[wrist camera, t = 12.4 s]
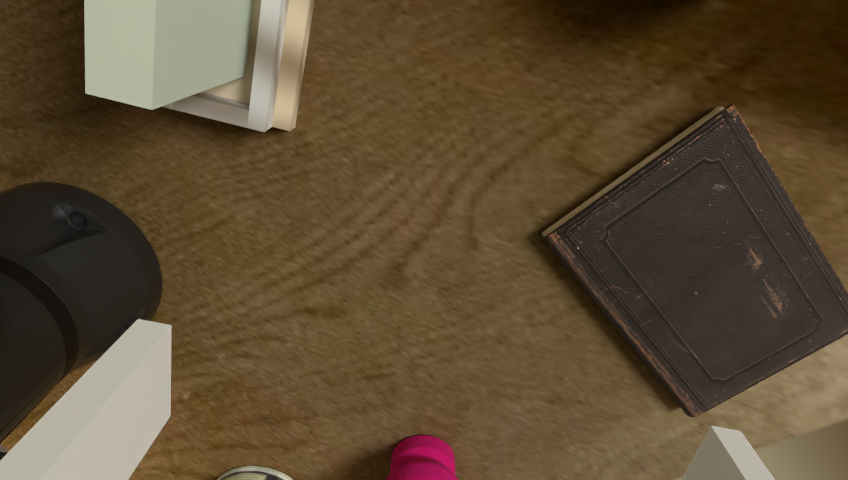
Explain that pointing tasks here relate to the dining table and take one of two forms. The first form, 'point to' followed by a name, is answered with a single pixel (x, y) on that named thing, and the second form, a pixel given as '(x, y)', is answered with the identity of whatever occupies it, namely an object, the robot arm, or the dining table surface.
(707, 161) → the hardcover book
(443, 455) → the pepper mill
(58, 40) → the dining table surface
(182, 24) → the door panel
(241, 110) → the door track
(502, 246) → the dining table surface
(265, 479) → the coffee can
